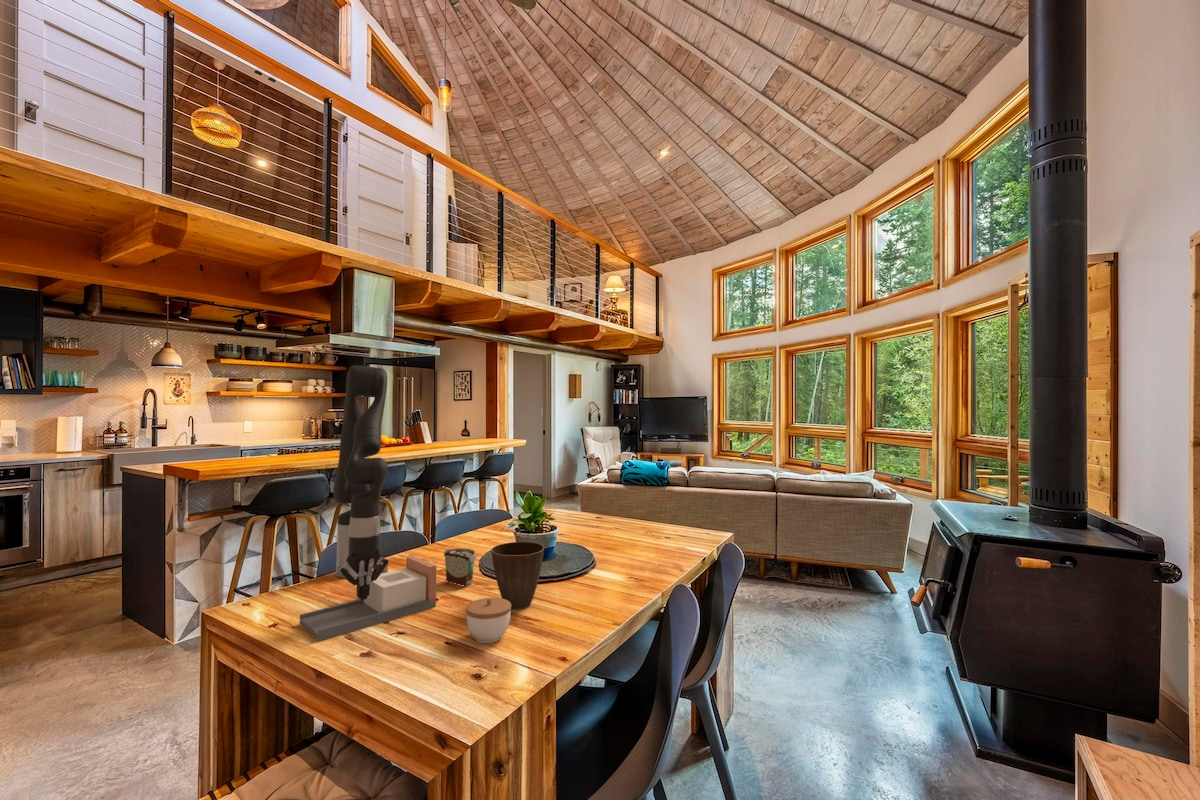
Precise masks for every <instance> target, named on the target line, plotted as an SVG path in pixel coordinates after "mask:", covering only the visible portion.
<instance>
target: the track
mask: <svg viewBox="0 0 1200 800" xmlns="http://www.w3.org/2000/svg"><path fill="white" fill-rule="evenodd" d="M405 568H407V569H409V570H412V571H414V572H416V573H418V574H420V575H423V576H425V577H426V600H423V601H419V602H416V603H412V604H409V605H405V606H402V607H398V608H394V609H391V610H387V611H384V612H380V613H379V612H377V611H376V610H374V609H373V608H371V607H370V606H368V605H366V604H365V603H364V599H363V600H360V599H359V598H358V599H355V600H351V601H348V602H344V603H340V604H336V605H333V606H329V607H324V608H321V609H316V610H312V611H309V612H308V611H307V612H304V613H300V614H299V625H300V624H301V625H302V626H303V627H304V628H305V629H306V630H307V631H308V632H307V631H306V630H305V629H304V628H303V627H302V626H301V625H300V626H301V627H302V628H303V629H304V630H305V631H306V632H307V633H308V634H310V633H311V634H312V635H313V636H314V637H315V638H316V639H317V640H318V642H322V641H325V640H324V639H326V640H328V638H329V639H332V638H335V636H336V637H338V635H339V636H342V635H341V634H343V635H346V634H348V633H351V632H356V631H359V630H362V629H363V630H364V629H367V628H369V627H373V626H375V625H380V624H383V623H386V622H389V621H392V620H396V619H399V618H402V617H406V616H409V615H412V614H416V613H421V612H422V611H426V610H431V609H433V607H434V608H436V606H437V605H436V603H437V602H436V599H437V565H436V564H434V563H431V562H430V561H429V562H428V561H426V560H424V559H421V558H419V557H416V556H415V555H409V556H406V559H405ZM345 633H346V634H345ZM311 634H310V635H311ZM312 635H311V636H312ZM313 636H312V637H313ZM314 637H313V638H314ZM315 638H314V639H315ZM316 639H315V640H316ZM317 640H316V641H317ZM321 640H322V641H321Z"/></svg>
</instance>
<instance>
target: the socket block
mask: <svg viewBox="0 0 1200 800" xmlns="http://www.w3.org/2000/svg"><path fill="white" fill-rule="evenodd" d="M423 600H426V577H425V576H423V575H420V574H418V573H416V572H414V571H412V570H409V569H407V568H406V567H405V568H400V569H396V570H395V569H394V570H391V571H388V572H386V573H382V574H380V576H379V577H378V578H377V580H375V581H372V582H371V583H370V594H369V596H367V599H364V603H365V604H366V605H368V606H370V607H371V608H373V609H374V610H376V611H377V612H379V613H380V612H384V611H387V610H391V609H394V608H398V607H402V606H405V605H409V604H412V603H416V602H419V601H423Z"/></svg>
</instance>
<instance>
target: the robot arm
mask: <svg viewBox="0 0 1200 800" xmlns="http://www.w3.org/2000/svg"><path fill="white" fill-rule="evenodd" d="M345 386H346V387H345V400H344V401H345V403H344V404H345V405H344V416H343V422H342V427H341V428H342V429H341V434H340V441H339V443H340V444H339V456H338V463H337V469H336V472H335V473H336V474H335V477H334V483H333V484H334V485H333V489H332V490H333V491H332V492H333V493H332V494H333V496H332V497H333V499H334V502H336V504H337V503H338V504H350V509H349V510H347V511H344V512H342V513H340V514H339V515H338V516H337V527H336V528H337V531H336V534H337V535H336V565H335V567H336V568H335V570H336V571H335V576H336V577H338V578H345V580H346V581H347V582H348V583H349V584H351V585H352V586H356V597H357V598H358V600H359V599H360V600H363V599H367V596H369V594H370V583H371V582H372V581H375V580H377V578H378V577H379V576H380V574H381V573H382V571H383V570H384V568H385V567H386V565H387V564H388V565H389V559H387V558H385V557H383V556H382V553H381V552H380V548H381V547H380V541H381V540H380V539H381V519H380V512H381V511H380V510H381V509H380V508H381V497H382V496H381V495H382V492H383V487H384V484H385V481H386V479H387V476H388V471H389V465H388V463H387V461H386V460H385V458H382V457H373V456H376V455H378V454H379V453H380V452H381V447H382V423H383V417H384V411H385V405H386V397H387V391H388V390H387V389H388V373H387V371H386V369H384V368H380V367H374V366H368V365H367V366H365V365H352V366H350V367H349V369H348V370H347V375H346V383H345ZM358 397H362V398H363V397H365V398H366V397H367V398H374V399H373V401H372V403H371V404H370V405H369V407H368V408H367V409H366V410H365V412H364V411H363V410H362V408H361V406H360V402H359V400H358ZM370 485H372V487H371V486H370ZM370 487H371V488H370ZM376 563H377V566H376V567H375V569H374V570H373V568H374V566H375V565H376Z"/></svg>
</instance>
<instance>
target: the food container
mask: <svg viewBox="0 0 1200 800" xmlns="http://www.w3.org/2000/svg"><path fill="white" fill-rule="evenodd" d="M475 551H476V550H474V549H471V548H463V547H461V548H450V549H449V548H448V549H445V550H444V553H443V557H444V560H445V563H444V565H445V582H446V581H448V582H452V583H456V584H460V585H464V586H468V585H470V584H471V583H472V584H473V577H474V576H473V575H474V568H475V567H474V566H475V561H477V554H476V552H475ZM448 582H447V583H448ZM452 583H451V584H452ZM456 584H455V585H456ZM472 584H471V585H472ZM471 585H470V586H471Z"/></svg>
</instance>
